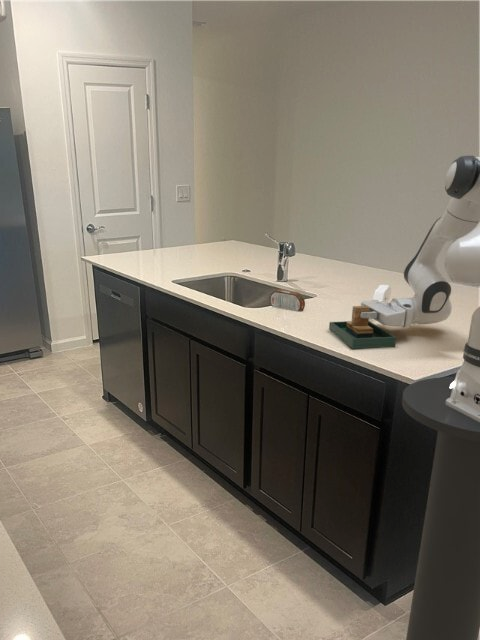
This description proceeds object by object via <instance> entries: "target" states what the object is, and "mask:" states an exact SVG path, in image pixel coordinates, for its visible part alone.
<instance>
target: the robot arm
mask: <svg viewBox="0 0 480 640" xmlns="http://www.w3.org/2000/svg"><path fill="white" fill-rule="evenodd" d="M444 190H445V192H446V194H447V196H449V197H450V199H449V200H448V203H447V206H446V208H445V210H444V212H443V214H442V216H440V217H438V218H437V219H436V220H435V221H434V223H433V224H432V225H431V227H430V229H429V230H428V232H427V234H426V236H425V238H424V240H423V241H422V243H421V245H420V246H419V249H418V250H417V252H416V254H415V255H414V256H413V258H412V259H411V260H410V261H409V262H408V263H407V265H406V266H405V269H404V270H403V278H404V281H405V282H406V283H407V284H408V286H410V287H411V289H412V291H413V293H414V295H413V297H394V298H392V299H391V300H390V301H389V302H388V304H387V303H385V302H382V301H373V300H364V301H361V303H360V306H368V307H370V312H360V315H359V316H360V317H361V318H369V319H372V320H375V321H376V322H378V323H380V324H381V325H382V326H386V327H401V328H405V329H407V328H408V329H410V328H411V327H412V325H413V324H416V325H432V324H438V323H441V322H444V321H446V320H448V318H449V317H450V316H451V313H452V302H451V300H450V296H451V294H452V287H451V284H450V283H449V281H448V280H447V278H446V277H445V276H444V274H443V273H442V272H441V270H439V267H438V265H437V259H438V257H439V255H440V254H441V251H442V250H443V248H444V246H445V245H446V243H447V242H452V243H451V245H450V246H449V247H448V248H447V251H446V253H445V256H444V261H443V262H444V263H443V264H444V270H445V273H446V275H447V277H448V278H449V280H451V281H452V282H453V283H454V282H456V283H459V284H462V285H466V286H467V285H469V286H472V287H480V156H475V155H461V156H459V157H457V158H455V160H453V162H452V163H451V165H450V166H449V168H448V169H447V171H446V174H445V179H444ZM462 353H463V354H462V359H463V361H462V363H461V366H460V367H459V369H458V370H457V371H456V374H455V376H454V377H455V381H454V382H453V383H452V384H451V385H450V388H452V387H453V389H452V392H451V396H450V398H448V399H447V400H446V402H445V405H447V406H449V407H451V408H453V409H455V410H457V411H459V412H460V413H462V414H464V415H466V416H468V417H470V418H472V419H474V420H476V421H478V422H480V306H479V307H477V308H475V310H474V311H473V313H472V314H471V319H470V324H469V332H468V336H467V342H466V343H465V345H464V348H463V352H462Z"/></svg>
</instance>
